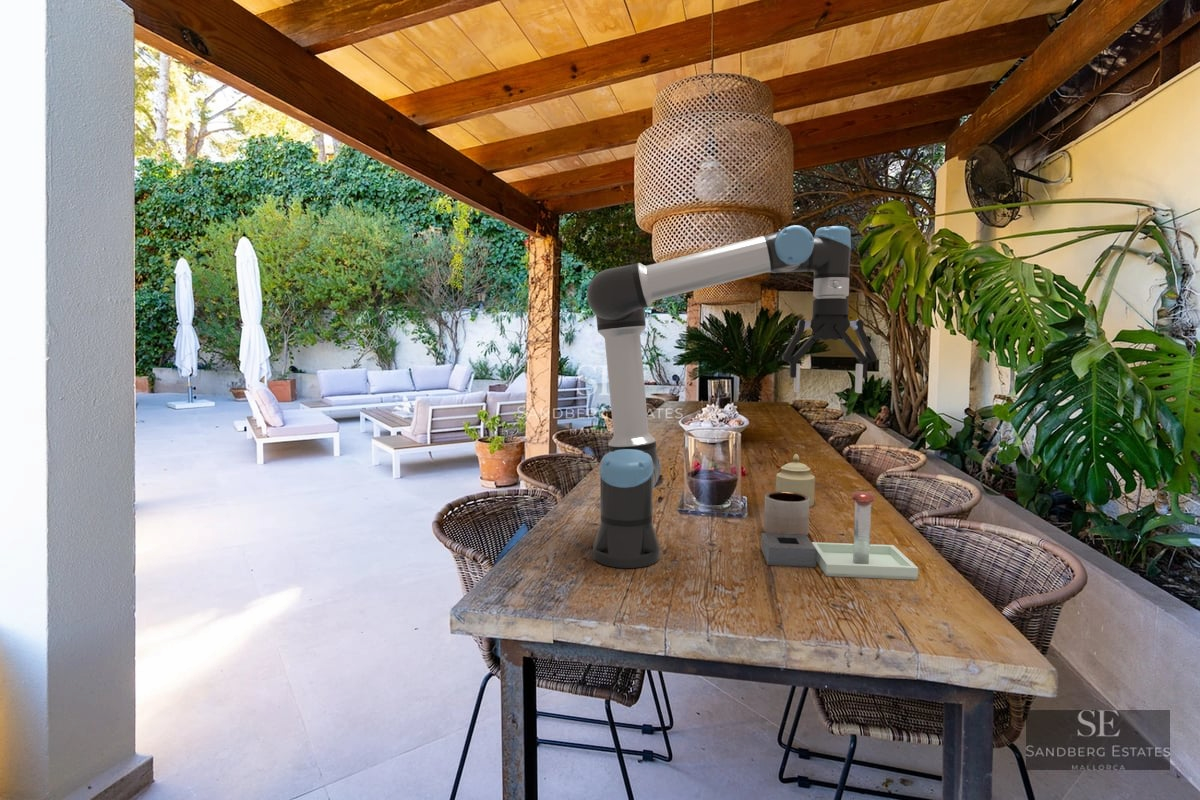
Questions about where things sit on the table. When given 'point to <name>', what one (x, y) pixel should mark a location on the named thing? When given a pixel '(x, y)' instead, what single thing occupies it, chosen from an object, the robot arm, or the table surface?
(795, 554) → the block
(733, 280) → the robot arm
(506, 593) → the table surface
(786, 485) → the sugar bowl
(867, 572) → the tray
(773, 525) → the planter
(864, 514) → the red capped tube
